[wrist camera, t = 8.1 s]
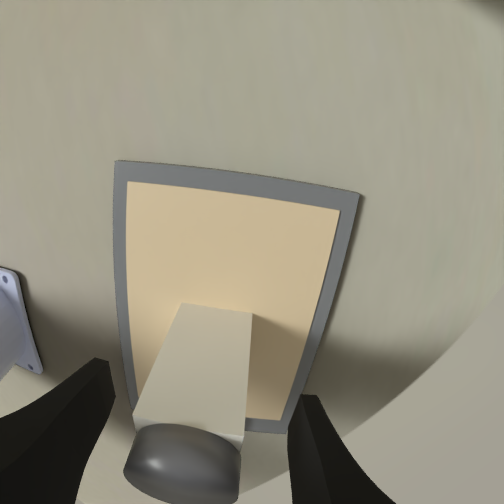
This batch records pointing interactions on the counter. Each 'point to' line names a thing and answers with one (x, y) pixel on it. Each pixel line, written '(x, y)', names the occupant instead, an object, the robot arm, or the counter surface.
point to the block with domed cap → (194, 410)
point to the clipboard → (229, 269)
